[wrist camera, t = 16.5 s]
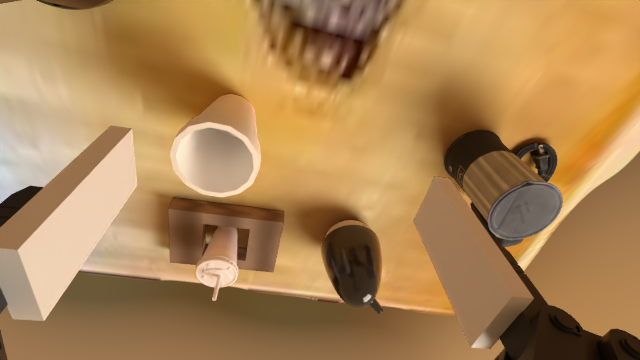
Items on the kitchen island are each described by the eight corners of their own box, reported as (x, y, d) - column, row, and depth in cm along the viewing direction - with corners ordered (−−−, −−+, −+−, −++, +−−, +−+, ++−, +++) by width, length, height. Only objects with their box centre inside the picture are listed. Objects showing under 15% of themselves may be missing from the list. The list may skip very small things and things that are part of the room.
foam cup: (280, 111, 47) (276, 156, 37) (243, 156, 51) (230, 209, 40) (221, 68, 44) (197, 104, 33) (186, 120, 47) (154, 168, 36)
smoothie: (238, 248, 62) (225, 316, 50) (203, 237, 60) (181, 306, 48) (250, 224, 58) (239, 290, 47) (214, 212, 57) (193, 278, 45)
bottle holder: (175, 249, 61) (170, 262, 58) (173, 197, 54) (168, 208, 52) (274, 259, 64) (273, 272, 61) (284, 211, 57) (283, 222, 55)
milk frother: (435, 146, 52) (479, 204, 40) (537, 95, 49) (620, 141, 36) (461, 206, 60) (505, 271, 47) (552, 165, 56) (625, 224, 44)
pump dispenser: (345, 260, 65) (357, 333, 53) (307, 233, 61) (311, 305, 48) (386, 232, 62) (410, 303, 49) (350, 201, 57) (367, 270, 45)
